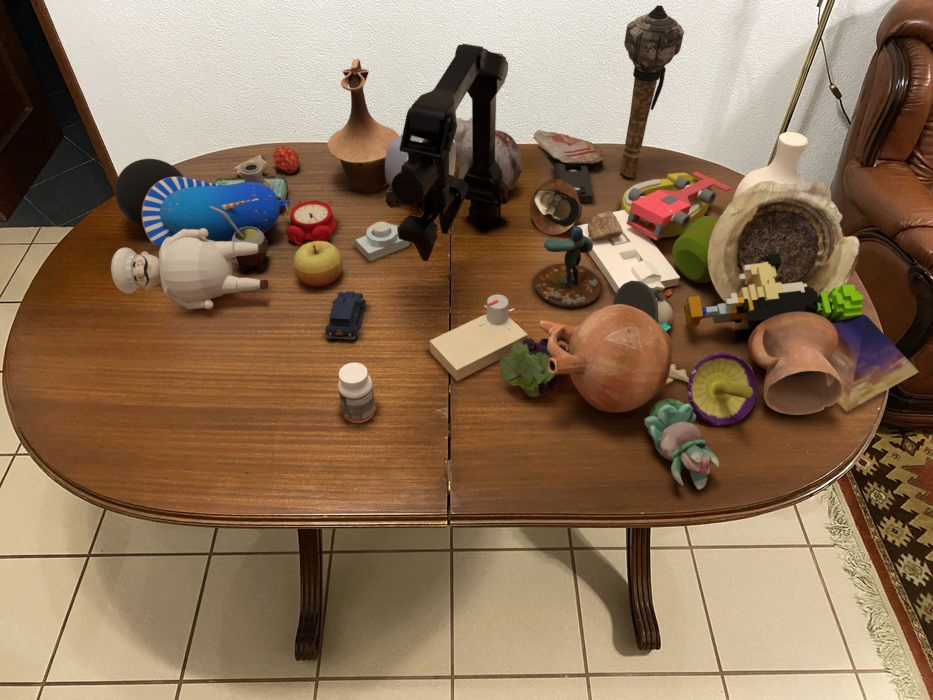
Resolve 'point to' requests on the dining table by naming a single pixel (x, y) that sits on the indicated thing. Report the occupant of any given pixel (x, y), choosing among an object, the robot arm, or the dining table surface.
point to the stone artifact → (568, 148)
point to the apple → (318, 263)
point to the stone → (603, 226)
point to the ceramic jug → (797, 362)
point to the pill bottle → (356, 393)
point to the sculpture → (504, 152)
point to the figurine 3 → (647, 301)
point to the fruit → (530, 367)
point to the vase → (779, 164)
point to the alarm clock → (311, 222)
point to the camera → (259, 180)
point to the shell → (256, 159)
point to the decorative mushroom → (722, 389)
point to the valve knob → (497, 309)
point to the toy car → (346, 316)
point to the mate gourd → (250, 237)
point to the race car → (669, 204)
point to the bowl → (398, 158)
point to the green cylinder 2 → (695, 249)
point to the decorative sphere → (140, 185)
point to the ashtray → (654, 185)
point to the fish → (677, 375)
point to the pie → (782, 237)
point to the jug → (612, 357)
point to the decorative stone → (286, 159)
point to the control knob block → (380, 243)
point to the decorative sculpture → (866, 361)
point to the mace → (647, 74)
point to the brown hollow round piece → (555, 207)
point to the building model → (631, 258)
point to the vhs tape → (575, 179)
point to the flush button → (381, 229)
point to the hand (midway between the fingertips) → (435, 246)
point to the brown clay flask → (361, 138)
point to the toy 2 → (774, 300)
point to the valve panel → (475, 345)
